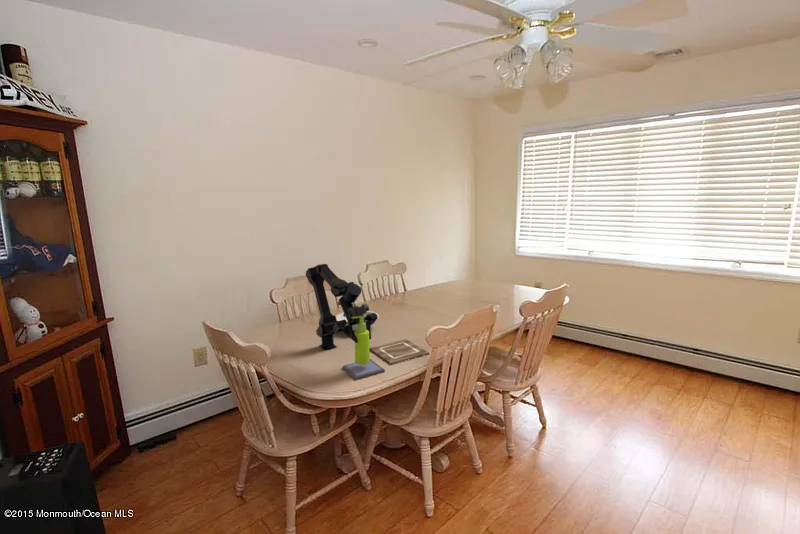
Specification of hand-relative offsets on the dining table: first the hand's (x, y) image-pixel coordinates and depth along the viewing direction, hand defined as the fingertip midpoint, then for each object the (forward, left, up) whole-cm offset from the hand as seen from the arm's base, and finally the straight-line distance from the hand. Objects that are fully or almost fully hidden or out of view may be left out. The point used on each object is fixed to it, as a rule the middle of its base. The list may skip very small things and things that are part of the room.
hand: (363, 340), depth 160 cm
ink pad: (-1, 0, -13) cm, 13 cm away
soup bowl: (-49, +20, -13) cm, 55 cm away
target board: (-9, +22, -13) cm, 27 cm away
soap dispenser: (-2, -1, -10) cm, 10 cm away
